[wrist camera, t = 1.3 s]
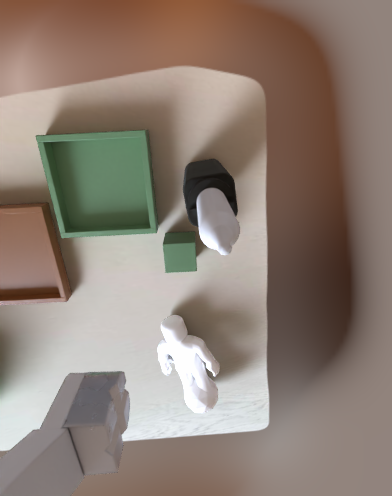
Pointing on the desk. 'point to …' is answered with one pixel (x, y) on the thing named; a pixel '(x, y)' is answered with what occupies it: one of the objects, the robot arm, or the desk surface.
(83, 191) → the green tray
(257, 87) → the desk surface
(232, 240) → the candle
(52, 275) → the wood tray
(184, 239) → the green block
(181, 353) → the figure
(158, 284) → the desk surface
